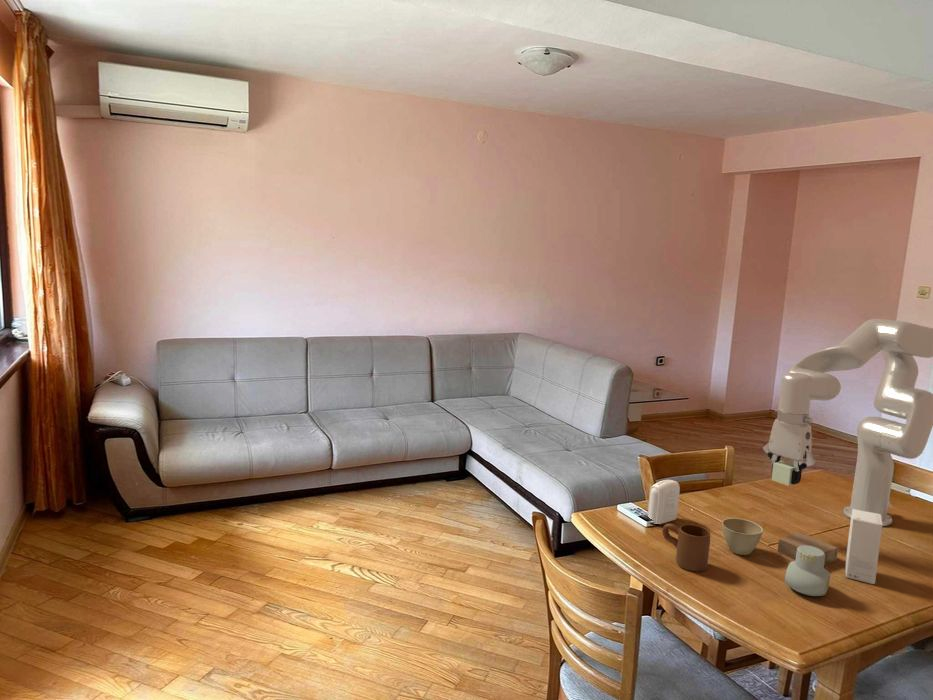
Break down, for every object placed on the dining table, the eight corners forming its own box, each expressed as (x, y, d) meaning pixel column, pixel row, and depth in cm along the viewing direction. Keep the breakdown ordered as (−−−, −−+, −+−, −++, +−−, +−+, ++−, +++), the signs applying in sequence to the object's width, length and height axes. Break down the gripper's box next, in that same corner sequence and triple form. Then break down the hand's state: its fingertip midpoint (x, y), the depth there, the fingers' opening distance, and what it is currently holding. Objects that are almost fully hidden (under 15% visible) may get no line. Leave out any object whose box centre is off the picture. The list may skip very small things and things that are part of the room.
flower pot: (740, 540, 172) (743, 516, 171) (768, 557, 163) (771, 531, 162) (711, 544, 169) (713, 519, 168) (737, 562, 160) (740, 536, 159)
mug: (654, 559, 160) (657, 525, 158) (665, 549, 165) (669, 516, 164) (701, 576, 152) (704, 540, 151) (711, 564, 158) (715, 530, 156)
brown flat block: (799, 545, 171) (801, 531, 171) (835, 561, 163) (837, 547, 162) (777, 553, 166) (779, 539, 166) (813, 570, 158) (815, 555, 157)
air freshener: (792, 574, 155) (797, 537, 153) (829, 587, 149) (835, 548, 148) (781, 592, 146) (786, 552, 145) (820, 605, 141) (826, 565, 139)
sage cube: (782, 476, 178) (783, 460, 177) (798, 482, 174) (800, 465, 173) (771, 479, 175) (773, 463, 174) (788, 485, 171) (790, 468, 170)
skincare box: (874, 585, 151) (884, 525, 148) (843, 577, 154) (851, 518, 152) (874, 571, 158) (882, 513, 155) (843, 563, 161) (852, 507, 159)
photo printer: (667, 514, 188) (671, 475, 186) (679, 519, 184) (682, 480, 182) (644, 521, 182) (647, 481, 180) (656, 527, 179) (659, 486, 177)
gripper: (831, 423, 166) (823, 488, 169) (771, 408, 180) (765, 468, 183) (815, 427, 162) (807, 493, 165) (756, 411, 177) (749, 472, 180)
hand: (785, 479), depth 174 cm, fingers closed on sage cube, 5 cm apart
